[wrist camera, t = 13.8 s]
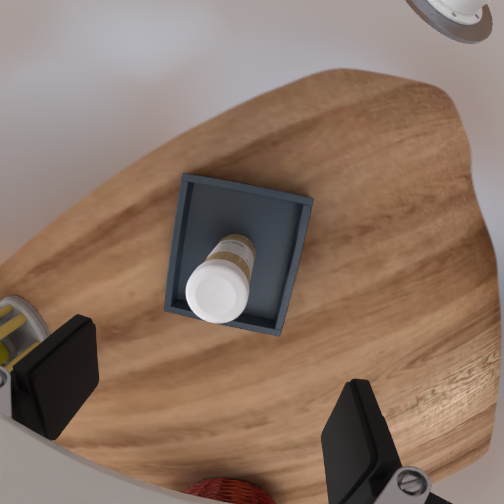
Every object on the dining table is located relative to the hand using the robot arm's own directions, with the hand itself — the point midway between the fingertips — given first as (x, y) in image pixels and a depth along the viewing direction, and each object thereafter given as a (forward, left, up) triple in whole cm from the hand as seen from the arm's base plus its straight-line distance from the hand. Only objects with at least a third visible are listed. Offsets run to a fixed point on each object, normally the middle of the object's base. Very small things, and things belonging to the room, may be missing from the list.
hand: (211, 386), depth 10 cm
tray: (+2, -2, -26) cm, 26 cm away
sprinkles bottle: (+2, -2, -25) cm, 25 cm away
